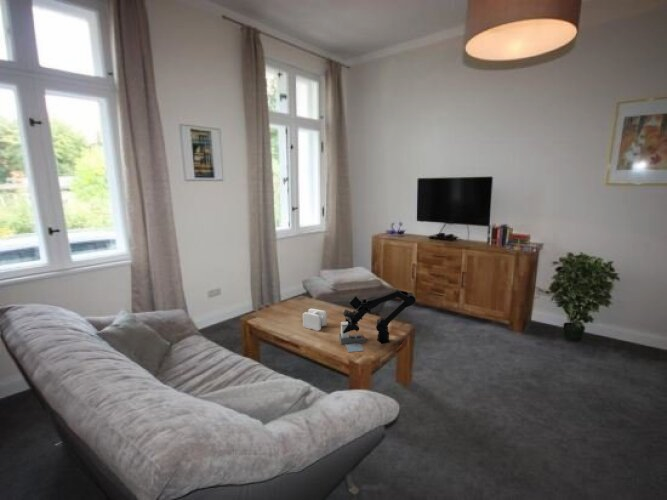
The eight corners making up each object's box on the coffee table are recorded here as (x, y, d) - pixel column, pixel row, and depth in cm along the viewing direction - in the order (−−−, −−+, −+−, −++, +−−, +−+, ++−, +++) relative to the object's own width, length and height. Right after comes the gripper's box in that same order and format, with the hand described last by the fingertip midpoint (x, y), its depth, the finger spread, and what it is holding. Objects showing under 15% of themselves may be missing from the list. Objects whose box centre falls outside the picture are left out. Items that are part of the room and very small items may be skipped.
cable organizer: (301, 327, 248) (301, 312, 246) (310, 322, 257) (309, 307, 255) (319, 332, 241) (319, 316, 239) (327, 326, 250) (327, 310, 248)
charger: (347, 335, 228) (347, 321, 226) (349, 338, 224) (349, 324, 222) (341, 336, 228) (340, 321, 226) (342, 339, 224) (342, 324, 221)
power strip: (363, 337, 232) (363, 332, 231) (365, 342, 226) (365, 336, 225) (339, 339, 229) (339, 334, 228) (341, 344, 223) (341, 338, 222)
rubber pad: (360, 343, 224) (360, 343, 224) (363, 350, 215) (363, 350, 215) (345, 344, 222) (345, 344, 222) (348, 352, 213) (348, 351, 213)
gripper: (347, 300, 231) (331, 317, 232) (354, 311, 213) (336, 329, 214) (359, 311, 234) (343, 327, 235) (366, 322, 216) (349, 340, 217)
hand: (342, 331), depth 225 cm, fingers closed on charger, 4 cm apart
